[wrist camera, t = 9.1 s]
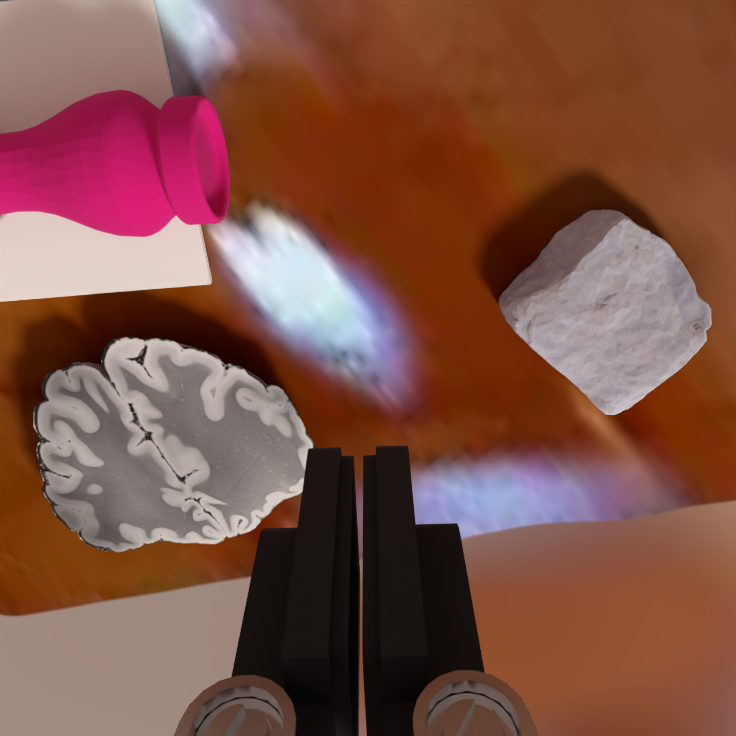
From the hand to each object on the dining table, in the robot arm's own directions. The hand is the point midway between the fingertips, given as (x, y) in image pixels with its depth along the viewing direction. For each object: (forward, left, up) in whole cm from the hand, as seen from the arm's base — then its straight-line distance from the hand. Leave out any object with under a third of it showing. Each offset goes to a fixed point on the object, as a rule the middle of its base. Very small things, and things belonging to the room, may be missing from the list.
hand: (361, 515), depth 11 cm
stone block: (+10, +15, -31) cm, 36 cm away
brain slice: (+17, -15, -31) cm, 38 cm away
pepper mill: (-2, -7, -26) cm, 27 cm away
